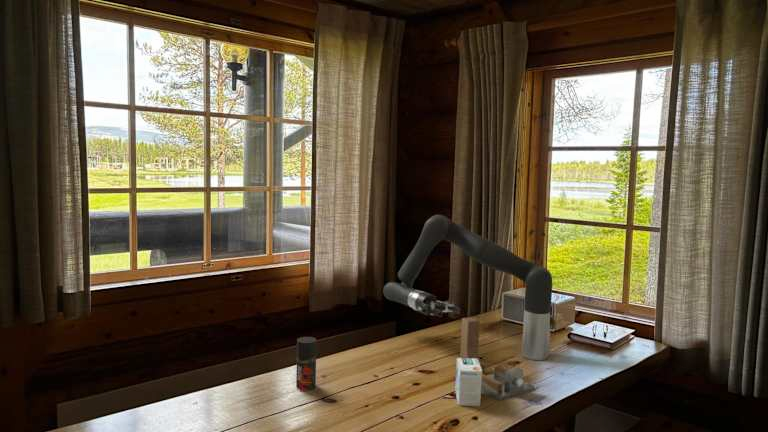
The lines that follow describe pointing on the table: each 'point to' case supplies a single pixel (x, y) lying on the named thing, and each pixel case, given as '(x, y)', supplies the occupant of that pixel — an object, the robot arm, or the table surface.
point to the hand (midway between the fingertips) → (451, 313)
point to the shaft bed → (509, 384)
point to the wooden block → (470, 340)
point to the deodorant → (306, 363)
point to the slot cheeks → (493, 383)
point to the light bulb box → (468, 381)
